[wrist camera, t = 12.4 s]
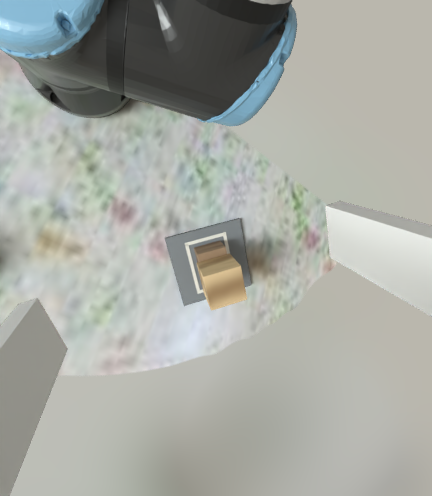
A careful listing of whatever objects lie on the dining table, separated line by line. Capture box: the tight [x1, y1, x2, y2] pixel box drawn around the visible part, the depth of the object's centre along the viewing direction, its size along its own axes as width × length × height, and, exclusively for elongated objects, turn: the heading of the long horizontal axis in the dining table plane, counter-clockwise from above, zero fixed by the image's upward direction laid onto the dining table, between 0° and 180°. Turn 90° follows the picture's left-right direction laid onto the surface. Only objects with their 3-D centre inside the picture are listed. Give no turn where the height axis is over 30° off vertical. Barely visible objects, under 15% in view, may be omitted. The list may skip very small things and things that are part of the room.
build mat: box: [165, 218, 251, 306], centre depth 52 cm, size 14×14×1 cm
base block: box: [194, 241, 227, 263], centre depth 50 cm, size 8×5×4 cm, turn 12°
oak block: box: [197, 253, 247, 310], centre depth 45 cm, size 6×6×6 cm
